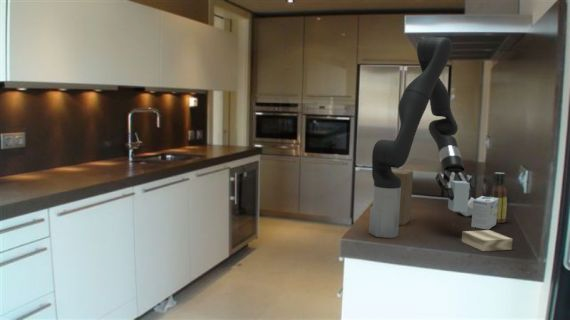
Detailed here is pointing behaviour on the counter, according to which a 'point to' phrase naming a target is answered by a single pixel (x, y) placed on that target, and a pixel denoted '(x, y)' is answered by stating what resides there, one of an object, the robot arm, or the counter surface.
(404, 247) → the counter surface
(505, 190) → the sauce bottle
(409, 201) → the wooden block
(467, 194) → the grey rectangular block
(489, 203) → the light bulb box
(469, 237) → the beech block
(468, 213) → the die
